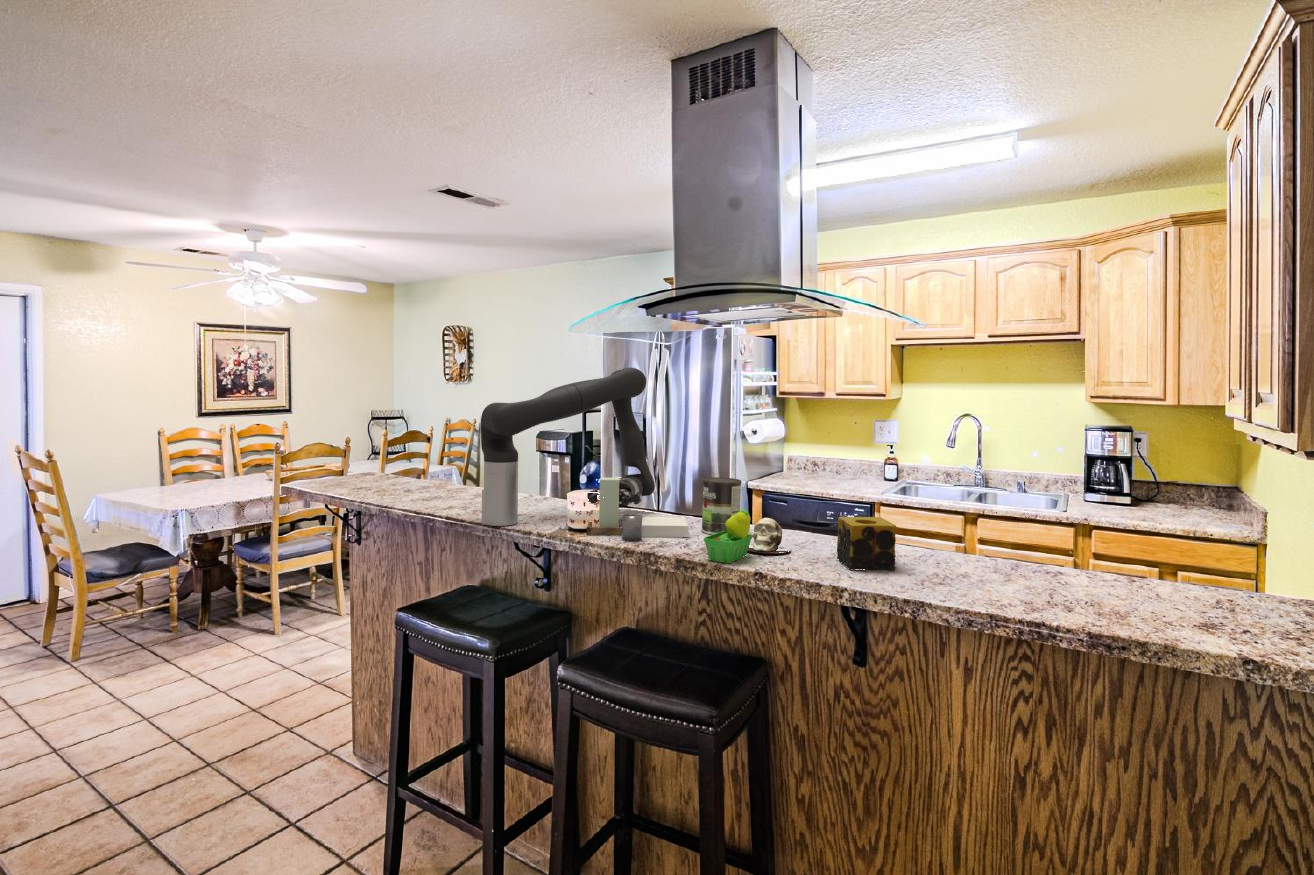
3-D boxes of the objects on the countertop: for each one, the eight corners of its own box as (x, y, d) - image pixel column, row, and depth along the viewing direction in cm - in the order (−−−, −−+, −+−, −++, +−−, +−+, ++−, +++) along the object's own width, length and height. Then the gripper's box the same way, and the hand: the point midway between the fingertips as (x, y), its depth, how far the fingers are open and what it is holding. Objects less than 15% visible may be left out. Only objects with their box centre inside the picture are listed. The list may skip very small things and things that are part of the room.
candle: (879, 560, 156) (881, 516, 156) (896, 571, 146) (898, 525, 146) (835, 559, 156) (837, 516, 155) (849, 571, 146) (851, 524, 145)
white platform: (637, 536, 176) (637, 525, 175) (636, 527, 188) (637, 516, 187) (688, 537, 176) (688, 525, 176) (684, 528, 188) (684, 517, 188)
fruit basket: (723, 551, 162) (724, 503, 161) (758, 556, 157) (760, 507, 157) (701, 560, 152) (702, 510, 151) (738, 566, 148) (739, 514, 147)
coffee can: (713, 536, 178) (715, 482, 177) (694, 529, 187) (696, 478, 186) (747, 534, 182) (749, 481, 181) (727, 527, 192) (728, 476, 191)
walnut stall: (586, 535, 177) (586, 527, 176) (588, 527, 187) (589, 519, 187) (629, 535, 177) (629, 527, 177) (629, 527, 188) (629, 520, 187)
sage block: (599, 533, 180) (599, 479, 179) (599, 529, 185) (600, 477, 184) (618, 533, 180) (619, 480, 179) (618, 529, 185) (619, 477, 184)
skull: (786, 554, 155) (758, 518, 158) (754, 580, 159) (726, 544, 162) (802, 543, 166) (775, 509, 168) (770, 567, 170) (745, 534, 172)
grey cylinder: (621, 541, 170) (622, 517, 170) (621, 537, 175) (622, 514, 175) (642, 541, 170) (642, 517, 170) (641, 537, 175) (641, 514, 175)
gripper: (599, 478, 197) (581, 485, 181) (648, 480, 194) (634, 487, 178) (599, 504, 197) (581, 513, 182) (647, 506, 194) (633, 516, 179)
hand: (607, 500), depth 180 cm, fingers open, 8 cm apart
